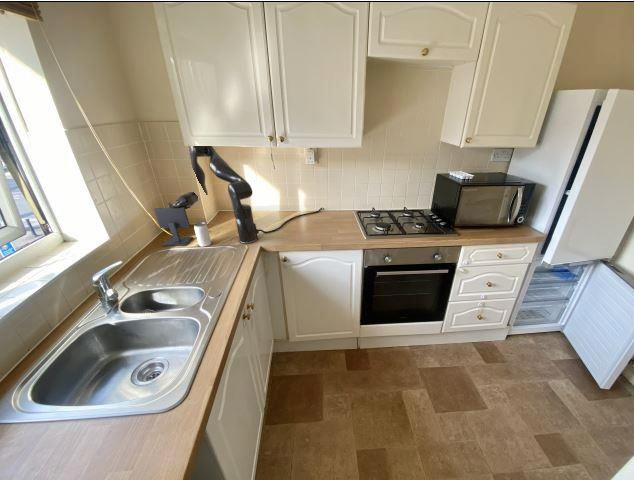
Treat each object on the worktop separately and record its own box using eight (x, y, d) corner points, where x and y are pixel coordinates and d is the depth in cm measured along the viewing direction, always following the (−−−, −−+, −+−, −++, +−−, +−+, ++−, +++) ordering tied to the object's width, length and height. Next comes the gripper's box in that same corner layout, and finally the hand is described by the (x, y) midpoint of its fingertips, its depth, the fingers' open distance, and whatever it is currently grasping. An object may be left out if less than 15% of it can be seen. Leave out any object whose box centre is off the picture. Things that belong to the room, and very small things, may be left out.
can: (199, 242, 158) (193, 223, 152) (212, 241, 160) (206, 221, 154) (198, 247, 153) (192, 227, 147) (211, 245, 155) (206, 225, 149)
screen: (161, 227, 156) (154, 208, 151) (190, 226, 157) (184, 207, 151) (160, 228, 155) (153, 208, 150) (189, 227, 155) (183, 208, 150)
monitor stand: (172, 238, 163) (166, 219, 157) (193, 238, 164) (187, 218, 158) (163, 246, 155) (156, 225, 149) (185, 245, 155) (178, 225, 149)
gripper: (173, 194, 165) (156, 203, 150) (195, 194, 165) (181, 203, 150) (177, 207, 169) (161, 217, 154) (199, 207, 169) (185, 217, 154)
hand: (171, 210), depth 152 cm, fingers closed
